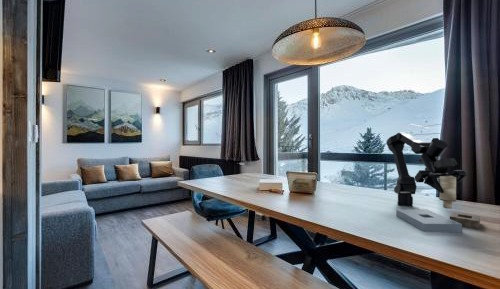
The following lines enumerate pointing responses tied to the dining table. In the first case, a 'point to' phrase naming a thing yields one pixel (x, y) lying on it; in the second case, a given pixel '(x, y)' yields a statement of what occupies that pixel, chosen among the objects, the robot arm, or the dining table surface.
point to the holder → (466, 219)
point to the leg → (448, 191)
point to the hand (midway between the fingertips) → (449, 192)
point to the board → (428, 220)
